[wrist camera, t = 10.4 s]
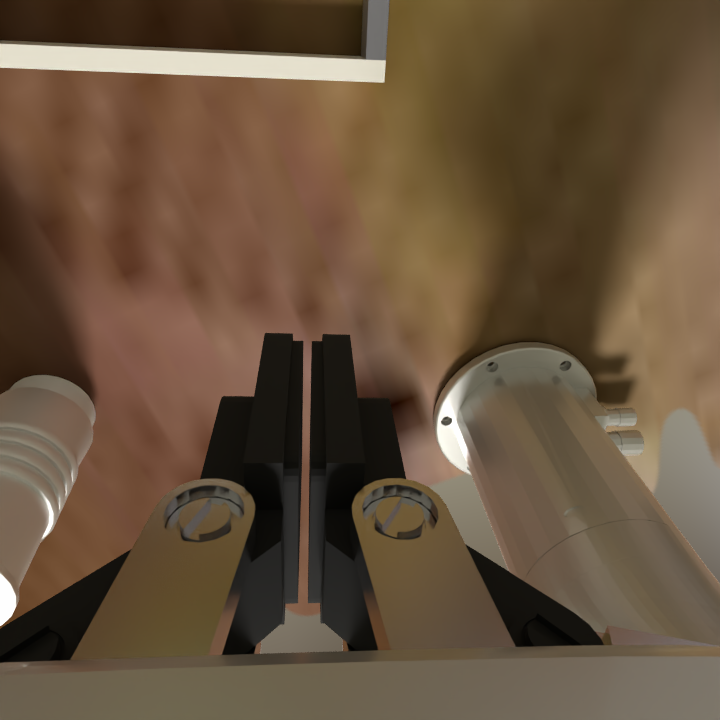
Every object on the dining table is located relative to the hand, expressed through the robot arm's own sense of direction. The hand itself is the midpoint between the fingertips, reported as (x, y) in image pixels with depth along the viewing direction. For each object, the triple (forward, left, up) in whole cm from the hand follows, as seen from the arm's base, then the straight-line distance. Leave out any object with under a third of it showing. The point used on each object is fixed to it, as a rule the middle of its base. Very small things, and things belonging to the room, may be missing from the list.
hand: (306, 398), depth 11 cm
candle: (+17, +18, -25) cm, 36 cm away
